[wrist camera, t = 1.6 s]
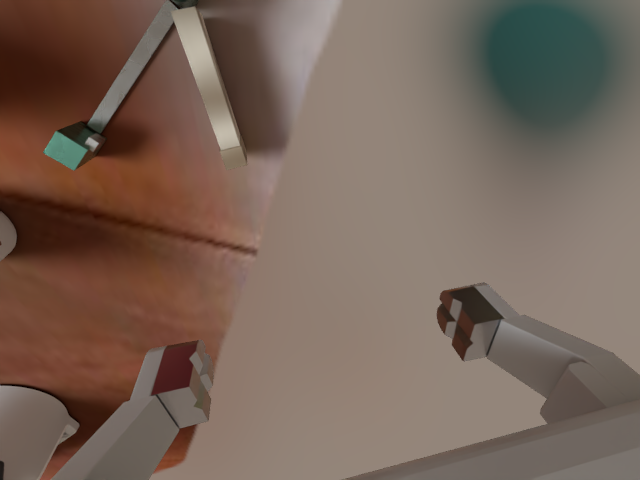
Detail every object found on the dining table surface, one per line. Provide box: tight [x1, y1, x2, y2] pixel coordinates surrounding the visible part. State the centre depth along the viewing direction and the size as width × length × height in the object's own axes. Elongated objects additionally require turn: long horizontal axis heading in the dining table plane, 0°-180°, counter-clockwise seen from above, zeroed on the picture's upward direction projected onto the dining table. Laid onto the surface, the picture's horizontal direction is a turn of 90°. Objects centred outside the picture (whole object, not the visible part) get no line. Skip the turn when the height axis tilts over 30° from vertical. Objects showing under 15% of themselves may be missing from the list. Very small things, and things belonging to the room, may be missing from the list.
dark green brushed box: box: [43, 121, 107, 170], centre depth 27 cm, size 3×3×4 cm
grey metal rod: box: [87, 0, 179, 134], centre depth 27 cm, size 14×1×1 cm, turn 136°
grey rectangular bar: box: [171, 7, 247, 170], centre depth 27 cm, size 12×2×5 cm, turn 11°
